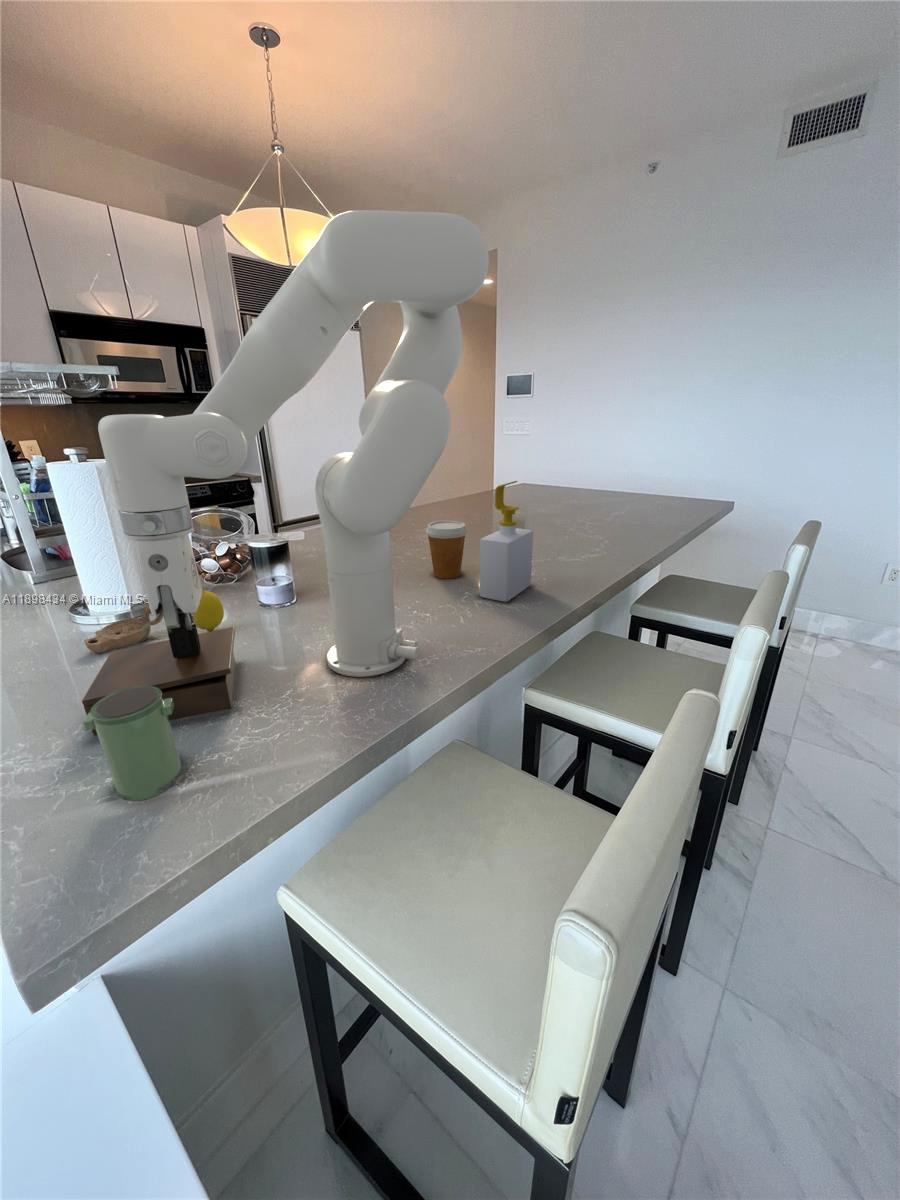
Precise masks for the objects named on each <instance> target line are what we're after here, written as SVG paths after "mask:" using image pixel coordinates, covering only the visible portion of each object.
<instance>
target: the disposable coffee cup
mask: <svg viewBox="0 0 900 1200" xmlns="http://www.w3.org/2000/svg"><path fill="white" fill-rule="evenodd" d="M467 532H468V529H467V528H466V524H465V523H464V522H462V521H457V520H437V521H433V522H430V523H428V524H427V528H426V529H425V533H426V536H427V537H428V543H429V551H430V556H431V563H432V569H433V575H434V577H436V578H439V579H454V578H457V577H460V575H461V573H462V564H463V557H464V547H465V539H466V535H467Z"/></svg>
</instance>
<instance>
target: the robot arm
mask: <svg viewBox="0 0 900 1200" xmlns="http://www.w3.org/2000/svg"><path fill="white" fill-rule="evenodd" d="M489 262H490V254H489V248H488V245H487V242H486V239H485V237H484V235H483V234H482V232H481V231H480V229H479V228H478V227H477V226H476V224H474V222H472V221H471V220H470V219H468V218H466V217H464V216H462V215H459V214H457V213H451V212H442V211H441V212H440V211H407V210H405V211H404V210H379V209H377V210H375V209H373V210H372V209H363V210H361V209H358V210H348V211H345V212H341V213H339V214H336V215H335V216H333V217H332V218H330V220H328V222H327V223H326V224H325V225H324V227H323V228H322V230H321V232H320V233H319V235H318V237H317V238H316V240H315V241H314V243H313V244H312V245H311V246H310V248H309V249H308V250H307V252H306V253H305V255H304V256H303V257H302V259H301V260H300V261H299V262H298V264H297V265H296V267H295V268H294V269H293V271H292V272H291V273H290V275H289V276H288V277H287V279H286V280H285V281H284V282H283V284H282V285H281V286H280V288H279V289H278V290H277V292H276V293H275V294H274V295H273V297H272V298H271V299H270V301H268V303H267V304H266V305H265V307H264V308H263V310H262V311H261V312H260V313H259V315H258V316H257V317H256V319H254V321H253V322H252V324H251V325H250V327H249V329H248V330H247V332H246V333H245V335H244V337H243V338H242V340H241V343H240V345H239V347H238V349H237V351H236V353H235V355H234V356H233V359H232V360H231V362H230V363H229V365H228V366H227V368H226V369H225V370H224V372H223V373H222V375H221V376H220V377H219V379H218V380H217V381H216V382H215V384H214V386H213V387H212V388H211V389H210V391H209V392H208V394H207V395H206V396H205V397H204V398H203V400H201V402H200V403H199V405H198V406H197V408H195V410H194V411H193V413H191V414H184V415H176V416H163V415H161V414H149V413H148V414H145V413H140V414H139V413H135V414H134V413H128V414H127V413H126V414H125V413H124V414H111V415H106V416H103V417H102V418H100V420H99V421H98V424H97V430H98V431H97V432H98V436H99V440H100V443H101V448H102V451H103V456H104V460H105V463H106V467H107V471H108V475H109V480H110V483H111V487H112V491H113V495H114V499H115V503H116V508H117V510H118V515H119V519H120V523H121V527H122V530H123V535H124V538H125V539H126V540H130V541H134V542H135V547H136V553H137V559H138V565H139V568H140V573H141V578H142V582H143V583H142V584H143V587H144V592H145V597H146V600H147V603H148V606H149V607H150V610H151V611H150V613H151V616H153V617H154V618H155V619H156V618H160V616H161V614H162V613H163V620H164V623H165V627H166V630H167V636H168V640H170V645H171V649H172V653H173V657H174V658H176V659H178V658H184V657H191V656H197V655H199V654H200V650H201V646H200V642H199V637H198V634H199V633H198V627H197V626H196V624H193V623H194V616H193V614H194V613H195V612H196V611H197V609H198V606H199V603H200V599H201V596H202V590H203V586H202V583H201V577H200V574H199V570H198V566H197V562H196V558H195V554H194V553H195V552H194V550H193V546H192V543H191V542H192V541H191V538H190V536H189V534H191V533H193V532H195V527H194V522H193V517H192V512H191V511H192V510H191V507H190V501H189V497H188V491H187V487H186V482H185V478H196V479H197V478H198V479H207V480H210V479H211V480H217V479H219V480H220V479H226V478H229V477H231V476H233V475H235V474H237V473H238V472H239V471H240V470H241V469H242V468H243V466H244V465H245V463H246V460H247V458H248V448H249V446H250V444H251V443H252V442H253V441H254V439H255V438H256V437H257V435H258V434H259V433H260V431H261V430H262V429H263V427H264V426H265V425H266V424H267V423H268V421H269V420H270V419H271V418H272V417H273V416H274V414H276V412H277V411H278V410H280V408H281V407H282V406H283V405H284V404H285V403H286V402H287V401H288V400H290V399H291V398H292V397H293V396H294V395H296V394H297V393H299V392H300V391H301V390H303V389H304V388H305V387H306V386H307V385H308V383H309V382H310V381H311V380H312V379H313V378H314V377H315V376H316V374H318V372H319V371H320V369H321V368H322V366H323V365H324V364H325V363H326V361H327V360H328V359H329V357H330V356H331V355H332V353H333V352H334V351H335V350H336V348H337V347H338V346H339V344H340V343H341V341H343V339H344V338H345V336H346V335H347V334H348V332H349V331H350V330H351V329H352V327H353V326H354V325H355V324H356V323H357V321H358V320H359V318H360V317H361V316H362V315H363V313H364V312H365V311H366V310H367V308H368V307H369V306H370V305H372V304H373V303H377V302H379V303H380V302H382V303H399V305H400V306H399V307H400V309H401V313H402V319H403V327H402V328H403V329H402V333H401V336H400V338H399V341H398V343H397V345H396V348H395V350H394V351H393V353H392V355H391V357H390V359H389V361H388V362H387V364H386V365H385V367H384V369H383V370H382V373H381V374H380V376H379V377H378V379H377V381H376V383H375V384H374V386H373V387H372V389H371V390H370V392H369V393H368V395H367V396H366V398H365V400H364V402H363V404H362V406H361V408H360V411H359V416H358V425H359V426H358V427H359V431H360V434H361V436H362V438H361V439H360V441H359V442H358V444H357V446H356V448H355V449H354V451H347V452H346V451H345V452H340V453H337V454H334V455H332V456H331V457H329V458H328V459H327V460H326V461H324V463H323V464H322V466H321V467H320V469H319V470H318V472H317V476H316V479H315V487H314V489H315V490H314V491H315V500H316V501H315V502H316V505H317V512H318V517H319V521H320V527H321V533H322V540H323V545H324V547H323V548H324V553H325V554H324V555H325V563H326V574H327V583H328V591H329V600H330V608H331V609H330V610H331V617H332V628H333V635H334V645H333V646H331V647H330V648H329V650H328V651H327V654H326V663H327V666H328V667H329V669H330V670H331V671H334V673H337V674H339V675H342V676H347V677H354V678H364V677H374V676H380V675H382V674H386V673H388V672H392V671H394V670H395V669H397V668H398V667H400V666H401V665H402V664H404V662H405V660H411V661H412V660H413V661H416V660H418V658H419V655H420V648H419V647H418V641H417V640H411V639H405V638H404V637H403V629H402V628H398V627H397V628H396V618H395V617H396V616H395V615H396V614H395V597H394V581H393V564H392V563H393V560H392V547H391V539H390V530H392V529H393V528H394V527H396V526H397V525H398V523H399V522H400V521H402V519H403V518H404V517H405V515H406V514H407V512H408V510H409V509H410V508H411V506H412V505H413V503H414V501H415V500H416V498H417V496H418V495H419V493H420V492H421V490H422V488H423V487H424V485H425V483H426V481H427V479H428V478H429V477H430V474H431V473H432V471H433V470H434V468H435V466H436V465H437V463H438V462H439V459H440V458H441V456H442V454H443V452H444V450H445V448H446V446H447V443H448V441H449V437H450V432H451V423H452V422H451V421H452V419H451V411H450V408H449V405H448V403H447V400H446V399H445V397H444V396H445V393H446V392H447V390H448V388H449V386H450V384H451V382H452V380H453V378H454V376H455V374H456V372H457V370H458V368H459V364H460V362H461V358H462V353H463V333H462V325H461V323H462V322H461V318H460V313H459V310H458V305H459V304H462V303H464V302H466V301H468V300H470V299H471V298H472V297H474V296H475V295H476V294H477V293H478V291H480V289H481V288H482V286H483V284H484V282H485V280H486V277H487V275H488V270H489V265H490V263H489Z"/></svg>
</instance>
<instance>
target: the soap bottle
mask: <svg viewBox="0 0 900 1200" xmlns="http://www.w3.org/2000/svg"><path fill="white" fill-rule="evenodd" d="M515 483H518V480H513V481H510V482H506V483H503V484H499V485H497V486H496V487H495V490H494V491H495V493H494V507H495V509H496V510H497V511H500V513H501V515H503V519H502V520H499V522H498V523H499V530H497V531H494V532H493V533H490V534H488V535H485V536H483V537H481V538H480V541H479V597H480V598H485V599H489V600H494V601H497V602H504V603H507V602H509V601H510V600H511V599H513V598H515V597H516V596H518V595H519V594H520V593H522V592H523V591H524V590H526V589H527V588H529V587H530V586H531V582H532V565H533V543H534V542H533V541H534V530H532V529H525V528H518V527H517V521H516V520H514V519H513V515H515V514H516V511H517V510H519V509H520V508H519V506H514V505H513V506H512V505H511V506H510V505H505V501H504V500H505V499H504V498H505V497H504V495H505V488H506V486H509V485H513V484H515Z"/></svg>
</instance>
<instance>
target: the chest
mask: <svg viewBox="0 0 900 1200" xmlns="http://www.w3.org/2000/svg"><path fill="white" fill-rule="evenodd" d="M235 669H236V658H235V653H234V652H233V658H232V669H231V674H227V675H222V676H218V677H213V678H209V679H204V680H200V681H196V682H191V683H187V684H182V685H178V686H173V687H169V688H164V689H160V690H161V691H162V694H163V699H168V698H172V699H173V703H174V708H173V711H172V714H171V715H168V717H169V721H174V720H180V719H185V718H189V717H194V716H200V715H205V714H209V713H214V712H215V713H216V712H221V711H225V710H230V709H232V708H233V695H234V694H233V693H234V684H235V683H234V682H235ZM94 705H95V704H93V705H89V706H84V705H83V709H84V712H85V714H86V716H87V715H88V713H90V711H91V708H92V707H93V706H94ZM91 732H92V735H93V736H98V735H97V732H96V729H93V730H91Z"/></svg>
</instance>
